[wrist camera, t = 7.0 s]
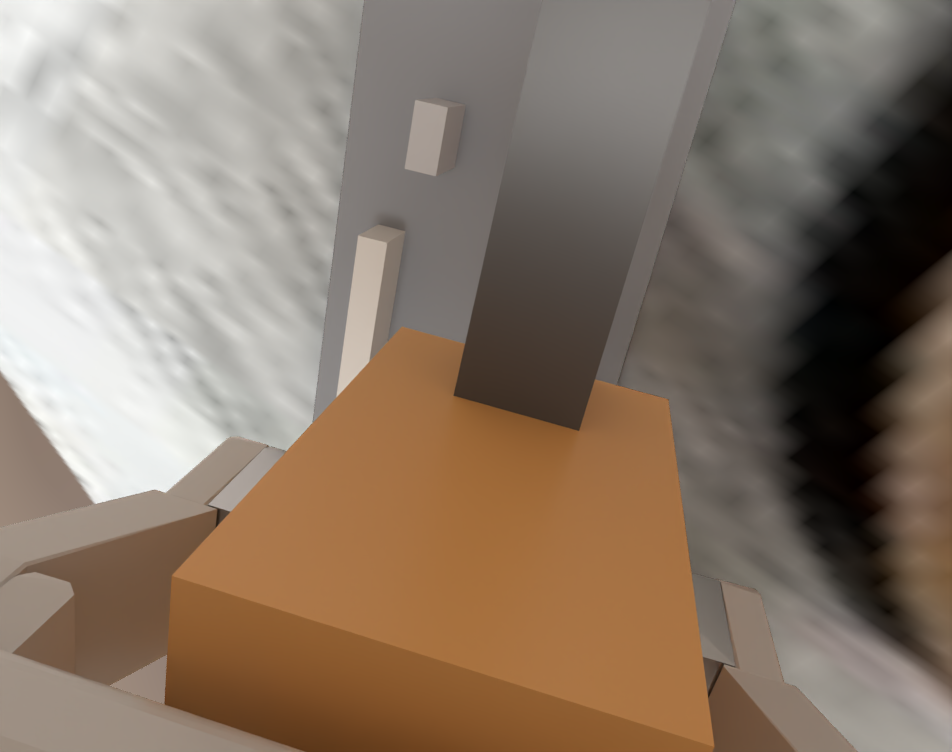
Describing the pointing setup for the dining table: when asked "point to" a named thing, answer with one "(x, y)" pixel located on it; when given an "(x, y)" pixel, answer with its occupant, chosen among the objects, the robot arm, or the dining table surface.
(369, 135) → the clip board
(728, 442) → the dining table surface
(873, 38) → the dining table surface
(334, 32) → the dining table surface
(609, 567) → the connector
